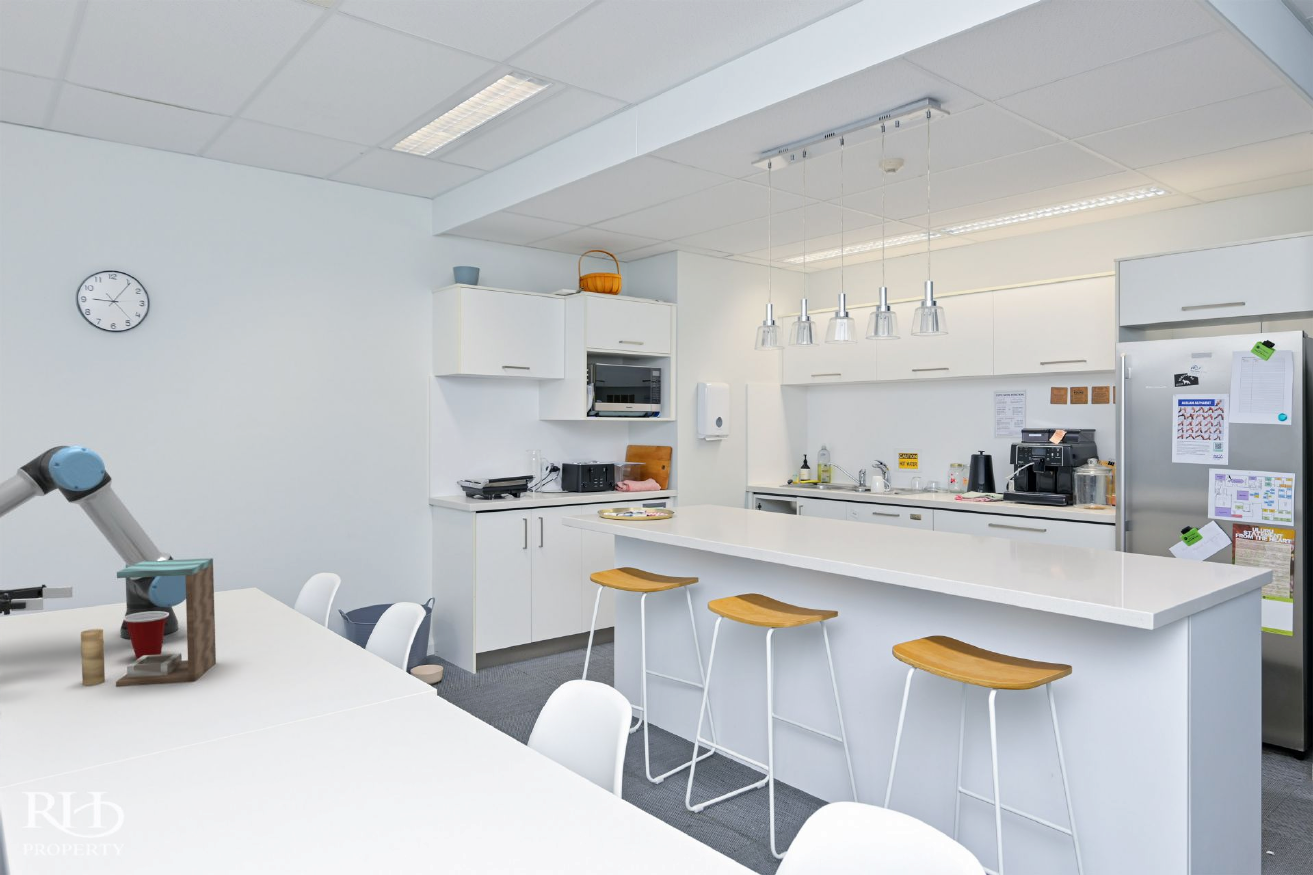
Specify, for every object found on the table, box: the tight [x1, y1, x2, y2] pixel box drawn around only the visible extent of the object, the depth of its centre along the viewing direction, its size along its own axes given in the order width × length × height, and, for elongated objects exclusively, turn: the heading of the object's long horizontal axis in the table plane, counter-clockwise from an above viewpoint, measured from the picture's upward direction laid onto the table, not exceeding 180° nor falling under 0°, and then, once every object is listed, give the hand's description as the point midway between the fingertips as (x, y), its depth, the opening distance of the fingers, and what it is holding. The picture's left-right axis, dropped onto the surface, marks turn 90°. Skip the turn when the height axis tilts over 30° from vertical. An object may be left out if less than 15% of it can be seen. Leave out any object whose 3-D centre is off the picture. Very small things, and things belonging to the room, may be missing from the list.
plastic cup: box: [122, 611, 169, 660], centre depth 223 cm, size 11×11×12 cm
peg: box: [80, 628, 106, 687], centre depth 203 cm, size 5×5×13 cm
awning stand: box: [115, 557, 217, 687], centre depth 209 cm, size 15×18×28 cm
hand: (57, 597), depth 204 cm, fingers open, 13 cm apart
